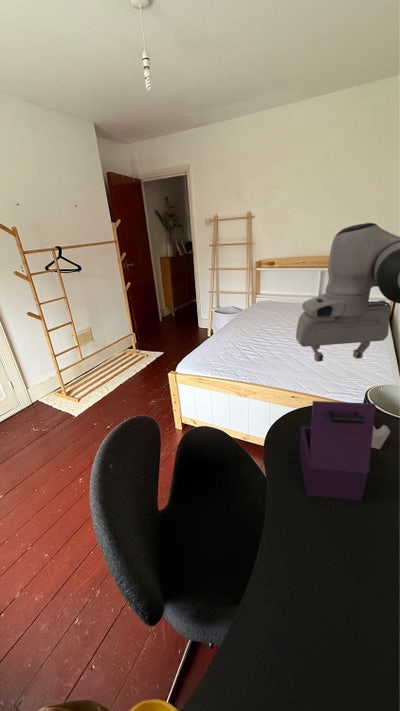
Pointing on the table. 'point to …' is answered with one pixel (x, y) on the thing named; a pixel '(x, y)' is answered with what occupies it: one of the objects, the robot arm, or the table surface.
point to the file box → (328, 476)
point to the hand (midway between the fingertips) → (337, 359)
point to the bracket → (379, 436)
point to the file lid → (341, 436)
